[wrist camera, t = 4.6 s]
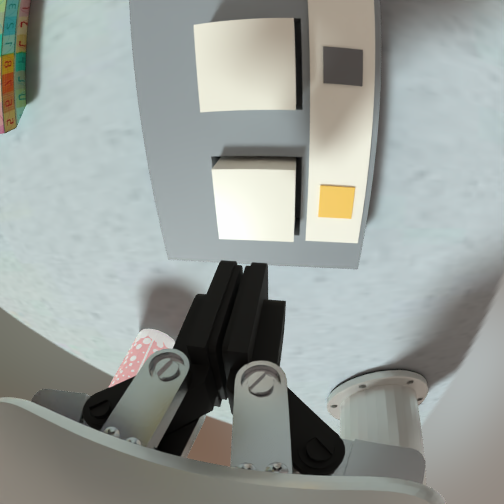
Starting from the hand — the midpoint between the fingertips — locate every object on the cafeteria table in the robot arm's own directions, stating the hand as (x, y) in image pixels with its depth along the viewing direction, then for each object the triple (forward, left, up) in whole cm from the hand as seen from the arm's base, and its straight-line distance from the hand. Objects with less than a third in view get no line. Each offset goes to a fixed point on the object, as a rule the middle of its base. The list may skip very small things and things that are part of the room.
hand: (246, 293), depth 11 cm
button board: (+7, -4, -10) cm, 12 cm away
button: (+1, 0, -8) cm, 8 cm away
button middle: (+7, -4, -7) cm, 11 cm away
